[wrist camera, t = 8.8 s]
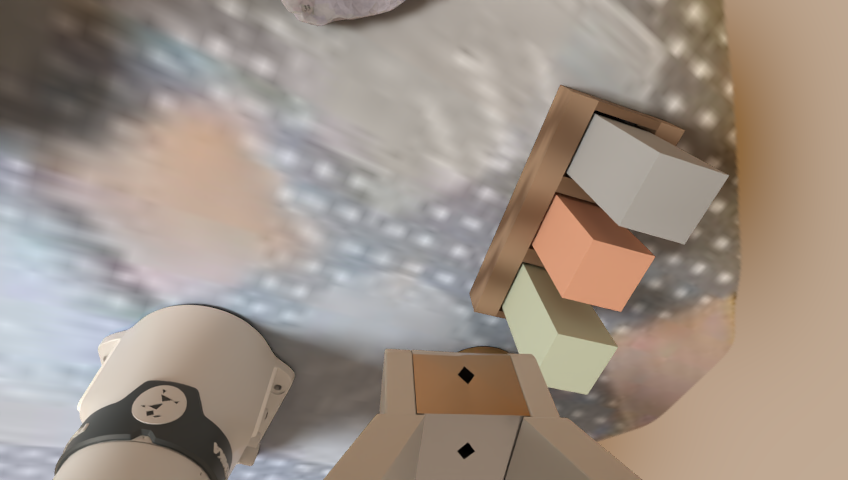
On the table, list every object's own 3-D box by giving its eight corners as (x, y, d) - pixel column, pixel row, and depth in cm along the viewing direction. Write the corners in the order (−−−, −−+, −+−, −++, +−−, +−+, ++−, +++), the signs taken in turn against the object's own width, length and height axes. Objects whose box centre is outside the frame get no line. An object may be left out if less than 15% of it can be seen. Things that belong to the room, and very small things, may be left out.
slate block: (618, 187, 39) (684, 244, 31) (565, 171, 38) (618, 226, 30) (648, 131, 37) (729, 175, 29) (593, 113, 36) (660, 152, 28)
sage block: (548, 316, 46) (587, 394, 37) (501, 305, 44) (529, 383, 36) (571, 274, 43) (618, 347, 35) (522, 262, 42) (558, 333, 34)
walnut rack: (558, 314, 49) (568, 332, 46) (469, 293, 47) (474, 311, 44) (665, 120, 40) (684, 130, 37) (560, 84, 38) (573, 92, 35)
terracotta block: (574, 247, 44) (620, 311, 35) (526, 234, 43) (562, 297, 34) (598, 200, 42) (655, 256, 33) (549, 185, 41) (593, 239, 32)
